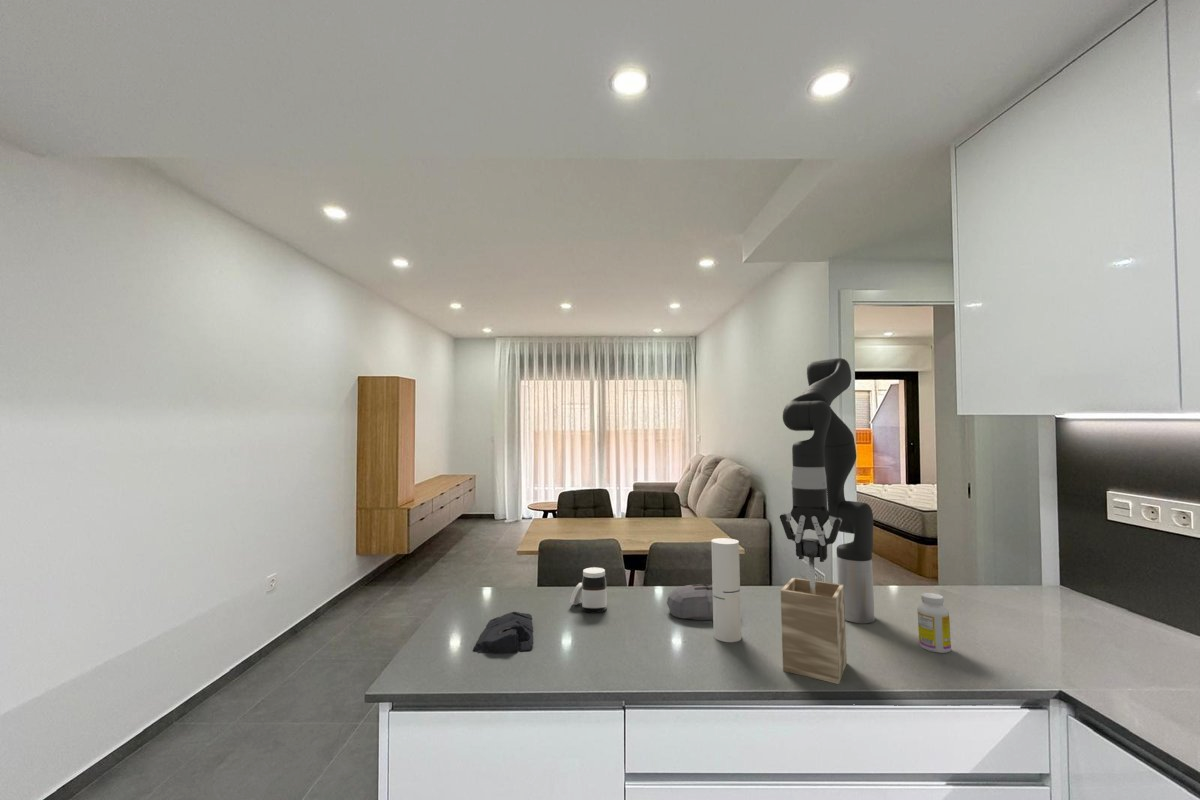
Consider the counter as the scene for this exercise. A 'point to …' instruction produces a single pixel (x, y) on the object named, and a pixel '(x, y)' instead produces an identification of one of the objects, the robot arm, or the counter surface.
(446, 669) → the counter surface
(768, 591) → the counter surface
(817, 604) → the wooden utensil holder
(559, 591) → the counter surface
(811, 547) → the plunger
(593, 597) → the spread jar
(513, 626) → the dark slate chunk
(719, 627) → the cylindrical container
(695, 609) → the grey rounded bag
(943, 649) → the supplement bottle
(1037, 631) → the counter surface
